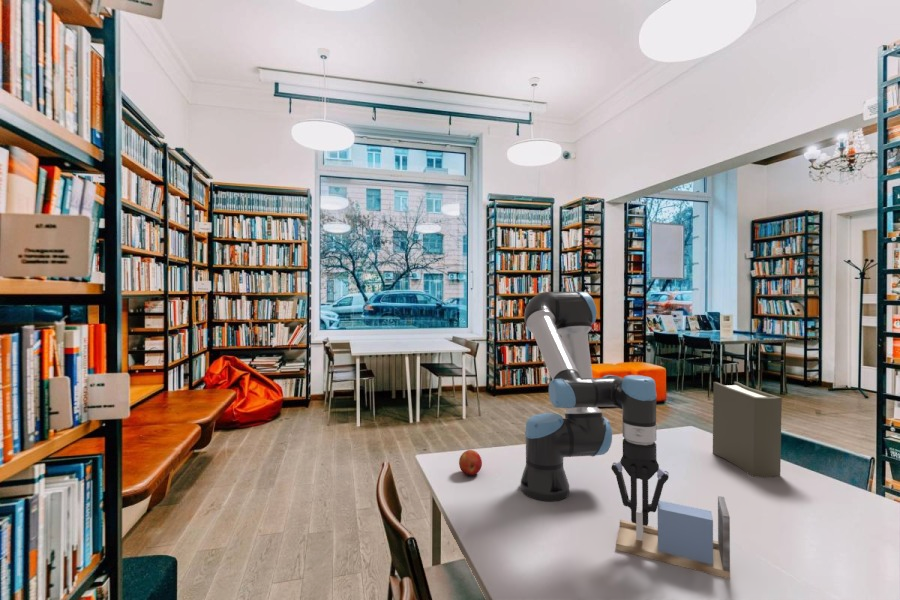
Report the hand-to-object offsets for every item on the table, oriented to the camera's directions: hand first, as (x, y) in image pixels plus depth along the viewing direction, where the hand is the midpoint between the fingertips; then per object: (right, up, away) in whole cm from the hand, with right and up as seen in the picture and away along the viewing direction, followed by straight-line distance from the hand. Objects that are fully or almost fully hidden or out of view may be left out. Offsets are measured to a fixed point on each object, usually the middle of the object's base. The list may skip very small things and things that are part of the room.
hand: (639, 536), depth 101 cm
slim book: (+8, -1, -5) cm, 10 cm away
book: (+61, -2, +49) cm, 78 cm away
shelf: (+6, -3, -2) cm, 7 cm away
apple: (-39, -3, +43) cm, 58 cm away
